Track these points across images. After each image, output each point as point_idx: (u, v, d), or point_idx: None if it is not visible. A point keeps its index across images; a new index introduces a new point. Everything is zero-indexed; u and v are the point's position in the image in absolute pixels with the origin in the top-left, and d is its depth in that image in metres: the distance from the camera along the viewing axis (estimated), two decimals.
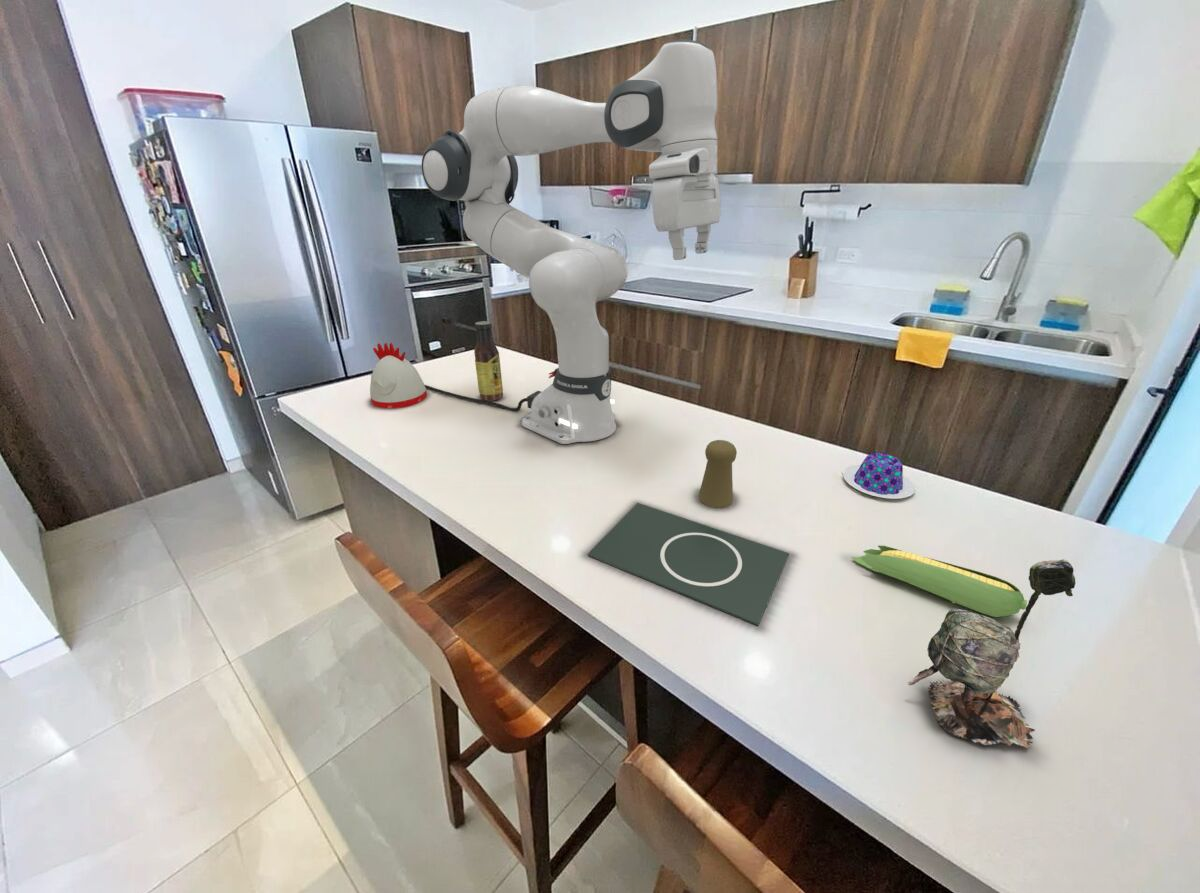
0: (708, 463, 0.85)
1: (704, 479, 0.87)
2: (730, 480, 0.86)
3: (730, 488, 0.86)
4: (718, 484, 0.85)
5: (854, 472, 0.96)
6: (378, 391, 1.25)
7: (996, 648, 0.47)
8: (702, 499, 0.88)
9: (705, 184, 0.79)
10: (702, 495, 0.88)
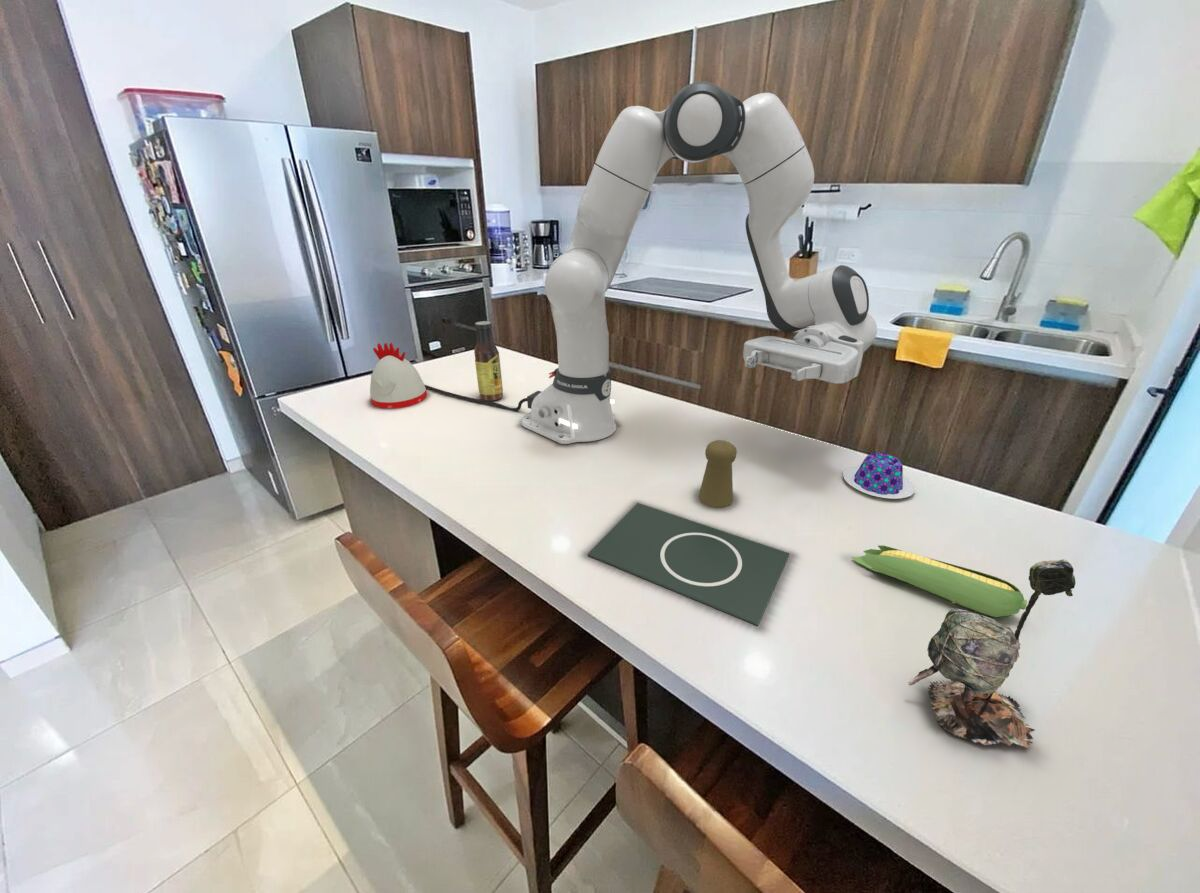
0: (708, 463, 0.85)
1: (704, 479, 0.87)
2: (730, 480, 0.86)
3: (730, 488, 0.86)
4: (718, 484, 0.85)
5: (854, 472, 0.96)
6: (378, 391, 1.25)
7: (996, 648, 0.47)
8: (702, 499, 0.88)
9: None
10: (702, 495, 0.88)
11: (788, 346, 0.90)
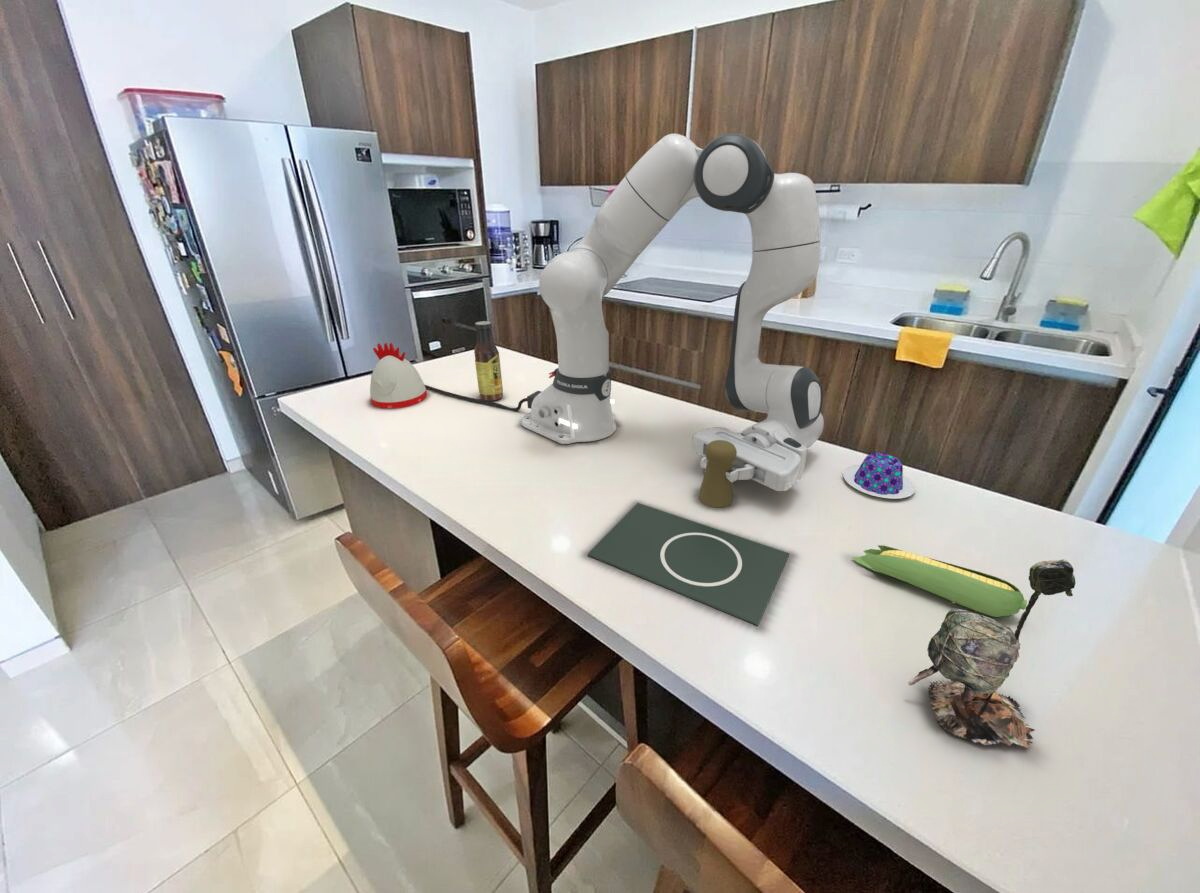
0: (708, 463, 0.85)
1: (704, 479, 0.87)
2: None
3: (730, 488, 0.86)
4: (718, 484, 0.85)
5: (854, 472, 0.96)
6: (378, 391, 1.25)
7: (996, 648, 0.47)
8: (702, 499, 0.88)
9: None
10: (702, 495, 0.88)
11: (735, 444, 0.91)
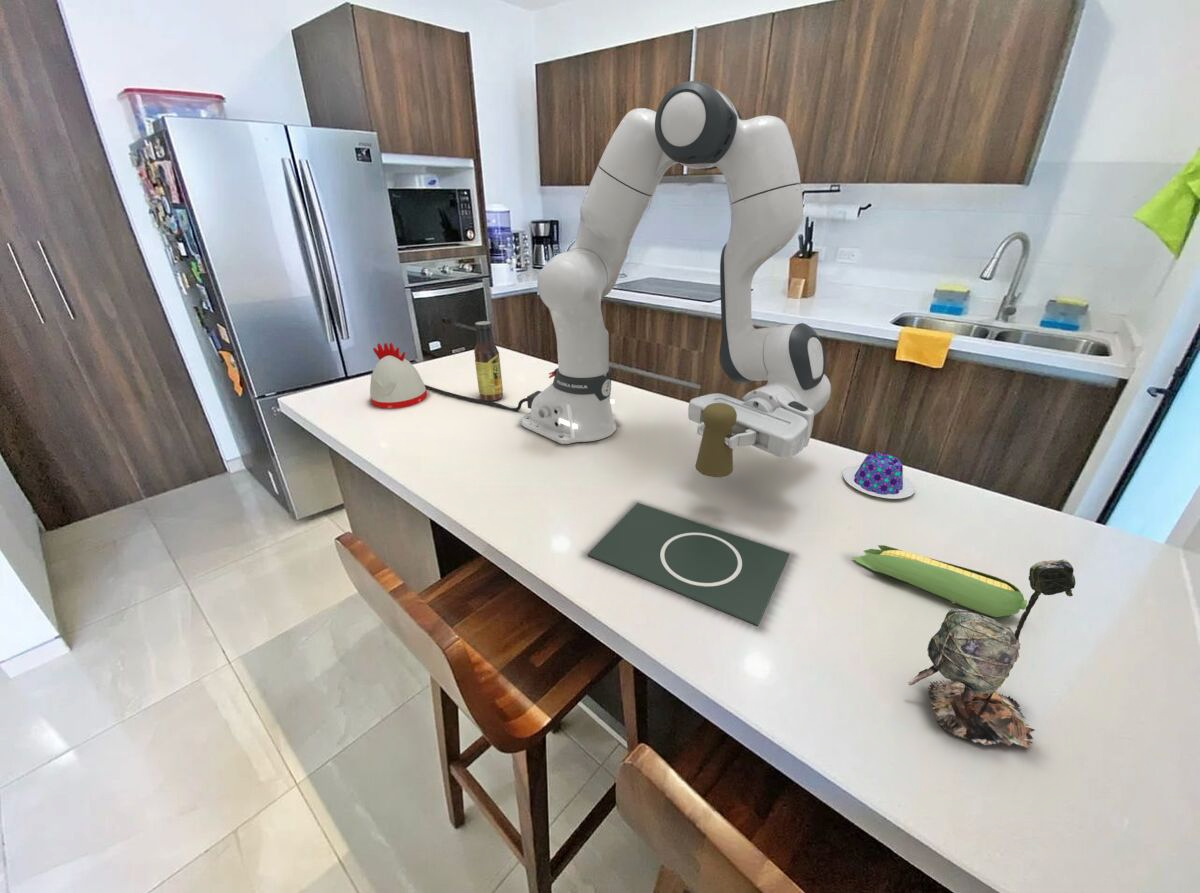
0: (705, 428, 0.78)
1: (701, 446, 0.79)
2: None
3: (730, 456, 0.78)
4: (716, 450, 0.77)
5: (854, 472, 0.96)
6: (378, 391, 1.25)
7: (996, 648, 0.47)
8: (699, 469, 0.80)
9: None
10: (699, 464, 0.80)
11: (735, 409, 0.83)
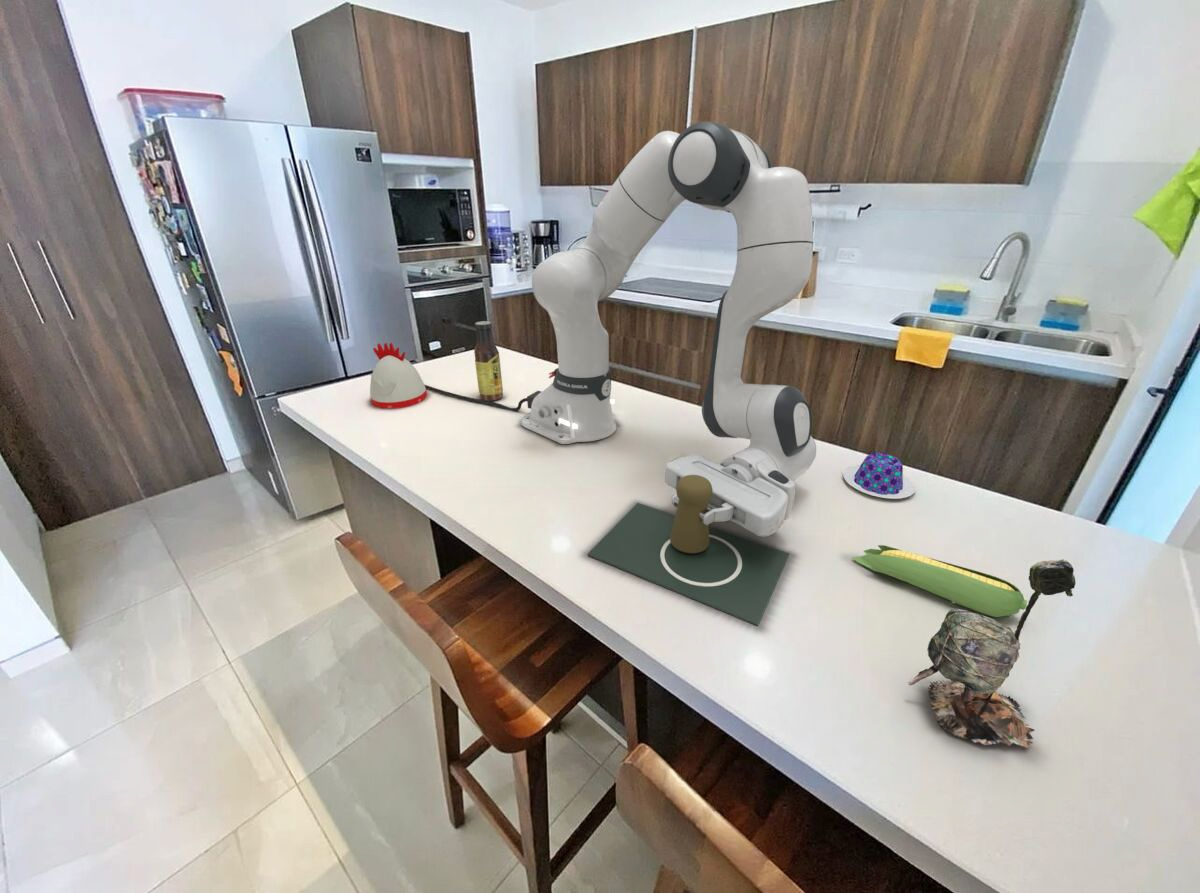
0: (680, 502, 0.73)
1: (675, 520, 0.75)
2: None
3: (705, 530, 0.74)
4: (691, 526, 0.73)
5: (854, 472, 0.96)
6: (378, 391, 1.25)
7: (996, 648, 0.47)
8: (673, 542, 0.75)
9: None
10: (673, 538, 0.75)
11: (713, 477, 0.78)
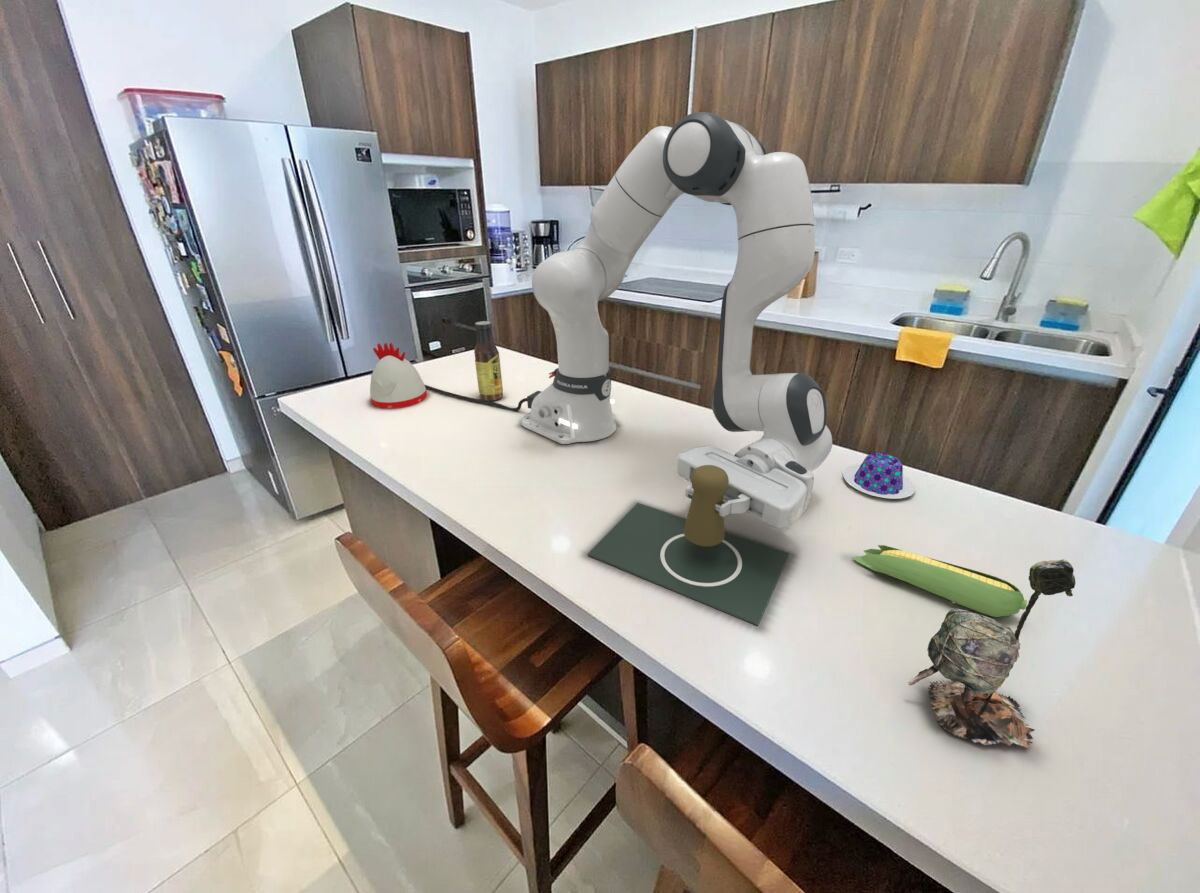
0: (694, 493, 0.70)
1: (690, 512, 0.72)
2: None
3: (721, 523, 0.71)
4: (706, 518, 0.70)
5: (854, 472, 0.96)
6: (378, 391, 1.25)
7: (996, 648, 0.47)
8: (687, 535, 0.73)
9: None
10: (687, 531, 0.73)
11: (727, 468, 0.76)
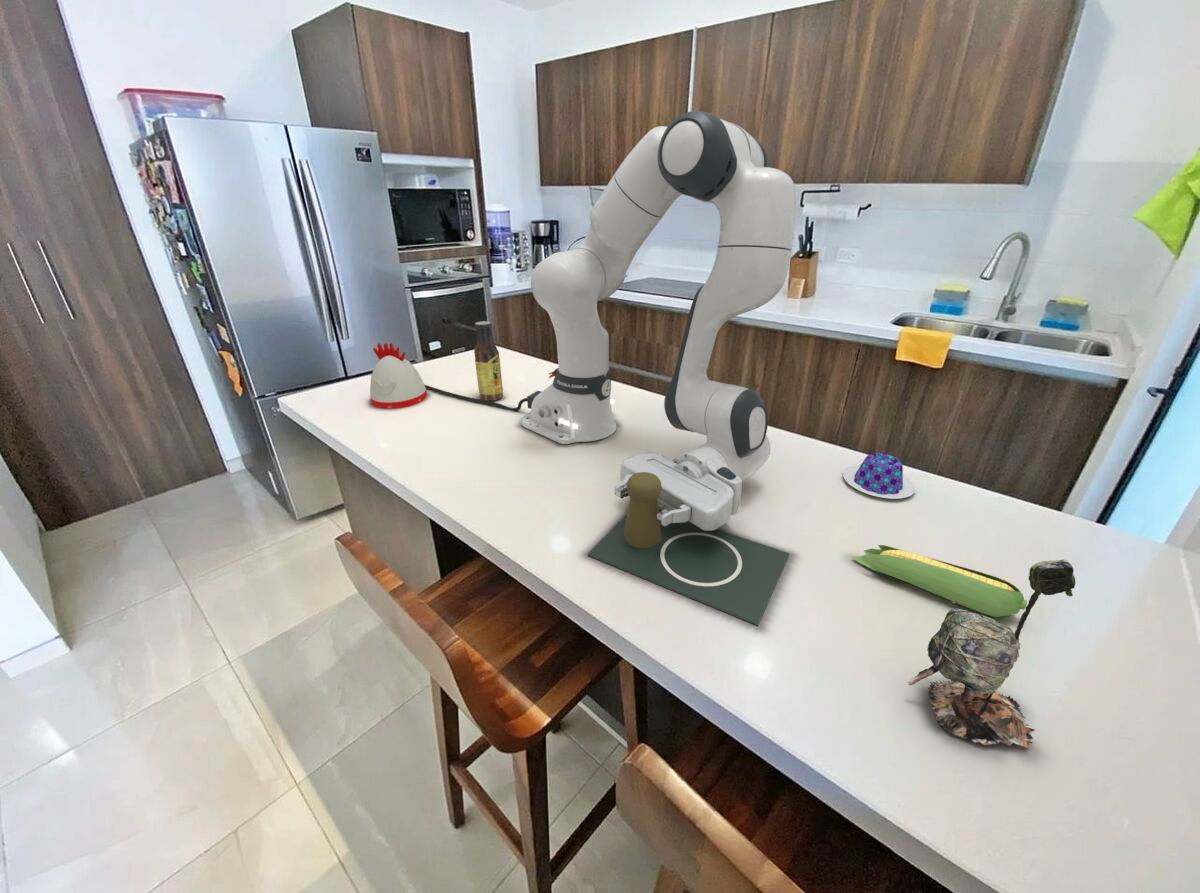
0: (630, 498, 0.75)
1: (627, 516, 0.77)
2: (656, 517, 0.76)
3: (656, 526, 0.76)
4: (641, 522, 0.75)
5: (854, 472, 0.96)
6: (378, 391, 1.25)
7: (996, 648, 0.47)
8: (626, 538, 0.78)
9: None
10: (626, 534, 0.78)
11: (664, 474, 0.81)
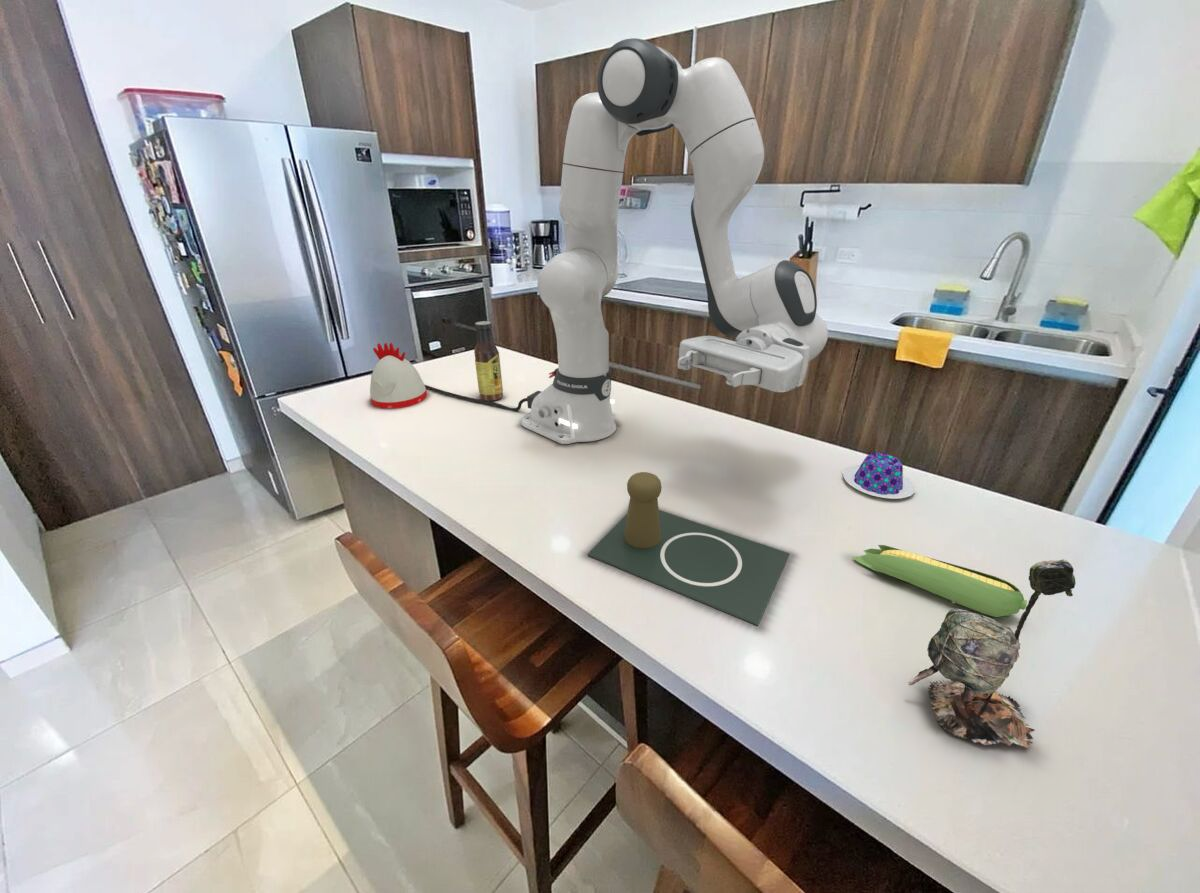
0: (630, 498, 0.75)
1: (627, 516, 0.77)
2: (656, 517, 0.76)
3: (656, 526, 0.76)
4: (641, 522, 0.75)
5: (854, 472, 0.96)
6: (378, 391, 1.25)
7: (996, 648, 0.47)
8: (626, 538, 0.78)
9: None
10: (626, 534, 0.78)
11: (727, 347, 0.79)
